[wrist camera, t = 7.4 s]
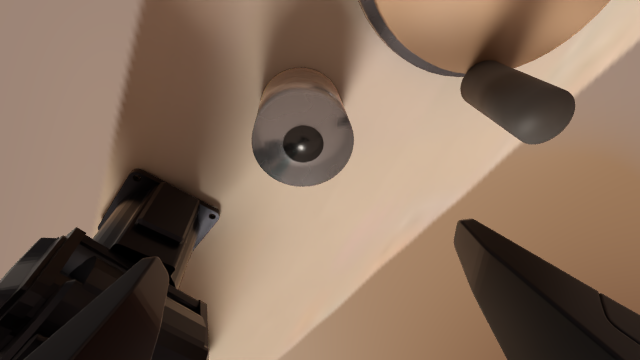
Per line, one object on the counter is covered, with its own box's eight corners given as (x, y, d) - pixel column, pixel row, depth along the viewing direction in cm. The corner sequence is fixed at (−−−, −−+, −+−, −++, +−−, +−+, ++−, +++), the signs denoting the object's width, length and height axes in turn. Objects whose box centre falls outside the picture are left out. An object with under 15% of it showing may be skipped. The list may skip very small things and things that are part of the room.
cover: (307, 158, 22) (311, 202, 17) (244, 115, 20) (231, 153, 15) (356, 102, 20) (374, 136, 15) (293, 48, 18) (293, 71, 13)
